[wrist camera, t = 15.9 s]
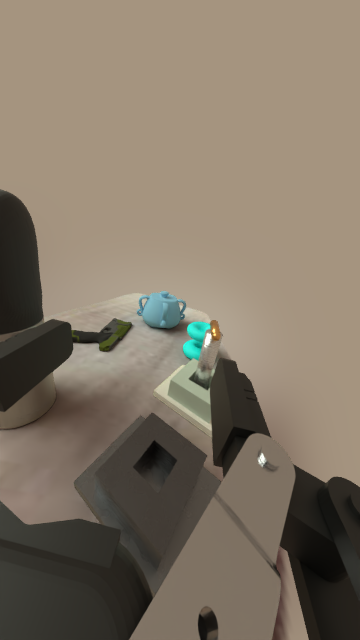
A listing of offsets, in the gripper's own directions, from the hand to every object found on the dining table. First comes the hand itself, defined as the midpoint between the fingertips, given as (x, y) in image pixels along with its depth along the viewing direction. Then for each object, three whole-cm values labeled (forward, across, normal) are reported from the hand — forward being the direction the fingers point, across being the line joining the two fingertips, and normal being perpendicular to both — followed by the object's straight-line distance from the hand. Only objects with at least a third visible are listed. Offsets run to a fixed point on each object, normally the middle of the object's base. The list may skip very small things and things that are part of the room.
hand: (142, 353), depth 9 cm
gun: (+40, +24, +27) cm, 54 cm away
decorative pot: (+56, +8, +27) cm, 63 cm away
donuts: (+39, -8, +27) cm, 48 cm away
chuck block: (+4, -2, +26) cm, 26 cm away
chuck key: (+21, -8, +25) cm, 34 cm away
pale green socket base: (+22, -8, +26) cm, 35 cm away
